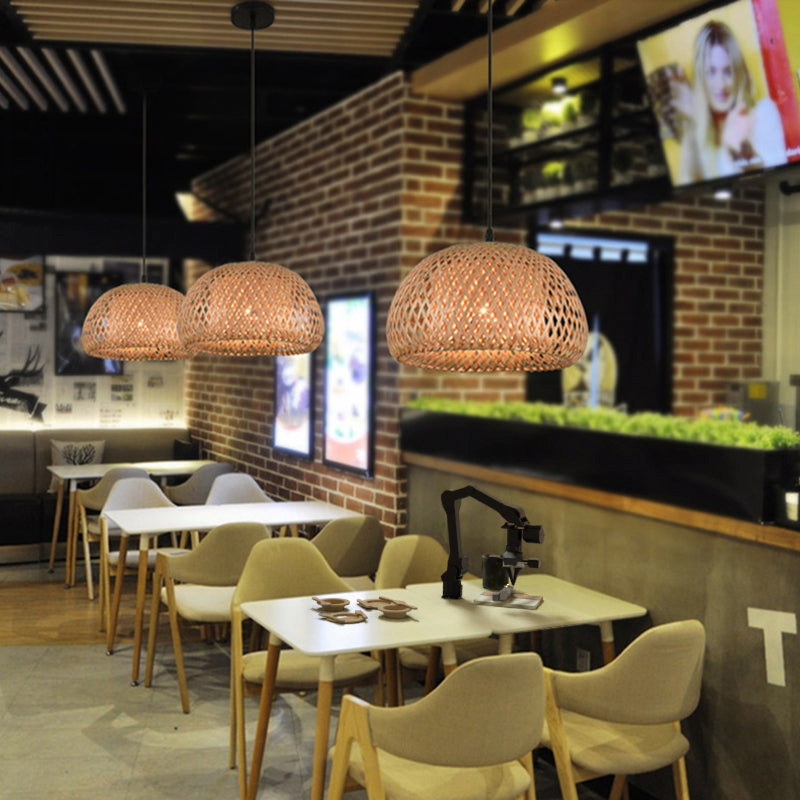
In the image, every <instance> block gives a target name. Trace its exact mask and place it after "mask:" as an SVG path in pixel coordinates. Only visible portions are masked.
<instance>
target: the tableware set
mask: <svg viewBox="0 0 800 800" xmlns="http://www.w3.org/2000/svg"><path fill="white" fill-rule="evenodd" d="M311 600H313V601H315V602H316V604H317V605H318V606H321V608H322V609H323V610H324V611H327V612H331V613H326V612H323V613H318V614H317V615H318V616H319V617H321V618H322V617H323V618H325V619H326V620H327V621H328V622H332V623H338V624H354V623H355V624H356V623H360V622H364V621H365V620H369V618H368V615H367V614H366V613H364V611H362V609H356V610H354V612H352V611H349V612H348V611H347V612H345V611H343V610H344V609H345V607H346V606H349V605H351V601H350V600H349V599H346V598H343V597H342V598H341V597H340V598H339V597H326V598H318V597H316V596H312V597H311ZM356 602H357V603H358V604H359V606H361V607H362V608H367V609H374V610H378V611H379V612H382V613H383V615H384V617H385V618H388V619H389V618H390V619H401V618H405V617H406V615H407V613H408V612H409V613H410V612H411V611H412V610H415V611H417V610H418V607H417V606H414V605H411V604H408V603H407V602H405V601H404V600H398V599H393V598H389V597H386V596H383V595H379V596H378V598H367V599H363V600H362V599H360V598H357V599H356ZM339 611H343V612H339ZM332 612H333V613H332Z"/></svg>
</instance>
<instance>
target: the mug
mask: <svg viewBox="0 0 800 800" xmlns="http://www.w3.org/2000/svg"><path fill="white" fill-rule="evenodd" d="M490 555H500V557H501V558H503V556H504V554H495V553H494V554H493V553H492V554H491V553H489V554H483V555H482V556H481V558H482V561H481V570H482V579H481V580H482V581H481V582H482V588H484V587H485V588H484V589H488V590H500V591H501V590H502V589H503V588H504V586H506V585H507V584H510V583H509V582H510V578H509V575H508V572H507V570H506V569H505V568H503V567H502V566H503V563H497V564H495V565H488V564H487V557H489V556H490Z"/></svg>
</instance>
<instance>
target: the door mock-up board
mask: <svg viewBox="0 0 800 800" xmlns="http://www.w3.org/2000/svg"><path fill="white" fill-rule="evenodd" d="M543 600H544V597H543V595H530V594H521V593H520V594H519V593H514V595H511V596H510V597H509V598H508V600H507V601H504V600H500V591H499V592H498V591H488V590H487V591H485V590H484V591H483V592H482V593H480V594H479V595H478V596H477V597H476V598H475V599H474V600H473V604H474V605H483V606H484V605H485V606H495V607H496V606H497V607H506V608H508V607H509V608H516V609H525V610H528V609H529V610H536V609H537V607H538V606H540V604H541V603H542V602H543Z"/></svg>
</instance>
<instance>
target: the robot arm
mask: <svg viewBox="0 0 800 800" xmlns="http://www.w3.org/2000/svg"><path fill="white" fill-rule="evenodd" d="M469 497H470V498H472V499H474V500H476V501H478V502H479V503H481V504H483V505H484V506H486V507H488V508H490V509H492V510H494V511H495V512H496V513H498V514H499V516H500V517H501V518H503V520H505V521H506V522H504V524H502V525H501V526H500V529H502V530H503V529H504V530H506V538H505V539H506V541H505V550H504V553H503V555H504V556H503V558H501V557H500V555H501V554H499V555H490V556H489V557H487V564H488V565H495V564H497V563H503V566H502V567H503V568H505V569H506V570H507V572H508V575H509V582H510V585H511V586H514V587H515V585H516V583H517V579H518V577H519V575H520V572H521V570H523V569H525V568H526V566H527V567H529V568H530V569H532V568H533V569H539V568H540V567H541V566H542V560H541V558H540V557H529V558H527V559H524V558H525V557H524V552H523V541H524V543H526V544H534V545H543V543H544V541H545V532H544V528H543V524H532V523H531V522H530V520H529V519H528V517H527V516H526V513H525V509H524V508H523V507H522V506H519V505H518V504H514V503H510V502H506V501H503V500H501V499H500V498H498V497H497V496H495V495H493V494H491V493H489V492H487V491H485V490H484V489H482V488H480V487H478V485H476V484H468V485H467V486H464V487H461V488H458V489H457V488H451V489H447V490H446V489H445V490H443V491H442V493H441V494H440V501H441V505H442V509H443V510H444V512H445V515H446V525H447V536H448V546H449V547H448V548H449V555H448V559H447V563H446V565H447V566H446V570H445V571H444V572H443V573H442V574H440V580H441V581H442V595H441V597H440V598H441V599H442V598H443V599H451V600H458V599H460V598H461V597H463V587H464V586H463V584H462V580H463V577H464V576H465V575H466V574H467V573H468V571H469V568H470V567H471V566H470V564H469V555H466V556H465V554H464V552H463V545H462V535H461V522H460V510H461V506H462V500H463V499H466V498H469Z"/></svg>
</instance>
